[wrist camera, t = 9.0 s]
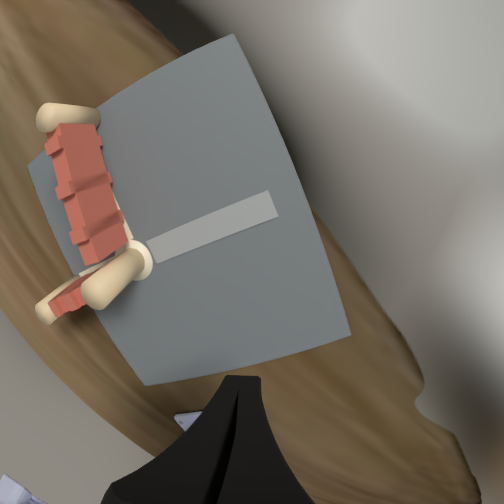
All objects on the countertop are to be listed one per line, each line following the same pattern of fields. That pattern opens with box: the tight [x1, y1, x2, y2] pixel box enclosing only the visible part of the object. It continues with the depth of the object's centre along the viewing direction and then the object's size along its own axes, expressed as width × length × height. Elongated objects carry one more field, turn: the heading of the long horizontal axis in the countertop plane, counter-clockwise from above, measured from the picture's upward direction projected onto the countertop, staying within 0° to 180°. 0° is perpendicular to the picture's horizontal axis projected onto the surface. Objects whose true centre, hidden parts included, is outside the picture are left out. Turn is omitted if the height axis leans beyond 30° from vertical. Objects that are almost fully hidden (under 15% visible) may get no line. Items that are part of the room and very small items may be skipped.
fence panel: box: [36, 103, 128, 266], centre depth 16 cm, size 10×2×5 cm, turn 15°
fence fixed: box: [35, 248, 145, 325], centre depth 19 cm, size 8×2×6 cm, turn 113°
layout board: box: [28, 34, 351, 386], centre depth 20 cm, size 23×20×1 cm
